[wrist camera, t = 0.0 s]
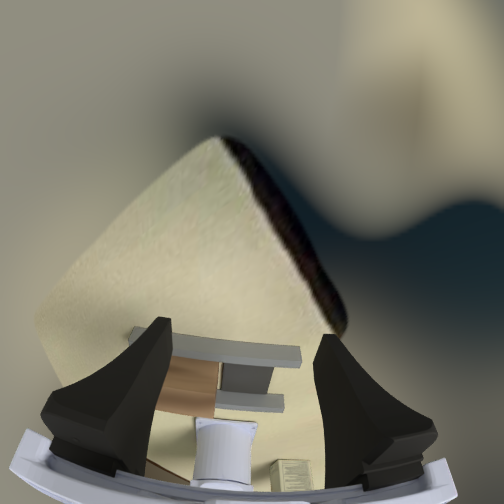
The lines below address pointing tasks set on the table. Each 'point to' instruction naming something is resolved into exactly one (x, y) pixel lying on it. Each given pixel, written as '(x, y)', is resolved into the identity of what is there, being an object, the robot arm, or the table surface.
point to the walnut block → (189, 387)
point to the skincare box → (291, 476)
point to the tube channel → (239, 368)
